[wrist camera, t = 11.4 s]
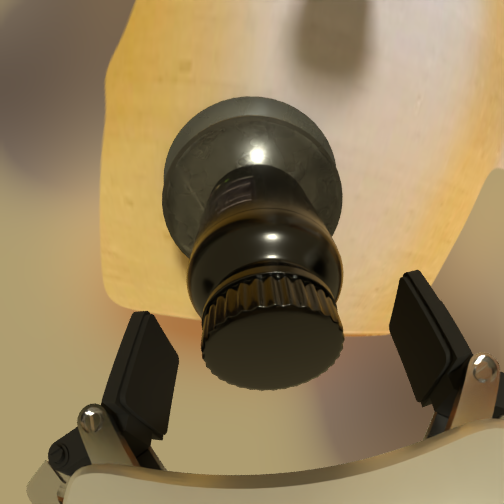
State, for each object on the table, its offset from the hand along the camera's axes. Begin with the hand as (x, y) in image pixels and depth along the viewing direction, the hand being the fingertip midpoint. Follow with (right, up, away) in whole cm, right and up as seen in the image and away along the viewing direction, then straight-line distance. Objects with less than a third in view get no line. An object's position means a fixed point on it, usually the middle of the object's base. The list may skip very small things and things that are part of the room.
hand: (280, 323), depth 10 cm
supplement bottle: (-1, +6, +9) cm, 11 cm away
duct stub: (-1, +9, +14) cm, 16 cm away
